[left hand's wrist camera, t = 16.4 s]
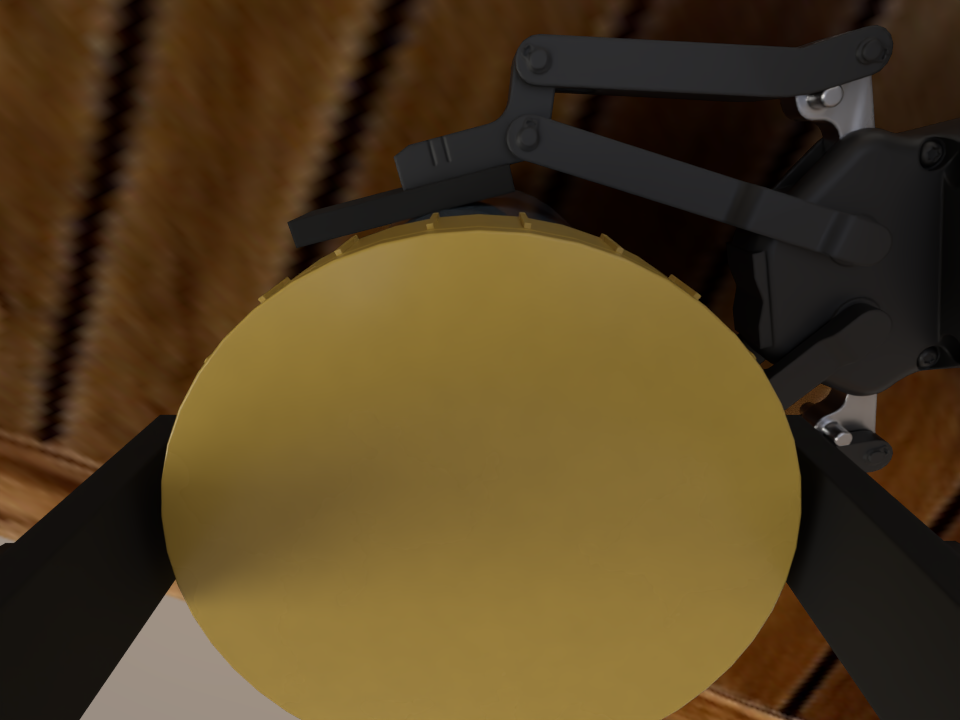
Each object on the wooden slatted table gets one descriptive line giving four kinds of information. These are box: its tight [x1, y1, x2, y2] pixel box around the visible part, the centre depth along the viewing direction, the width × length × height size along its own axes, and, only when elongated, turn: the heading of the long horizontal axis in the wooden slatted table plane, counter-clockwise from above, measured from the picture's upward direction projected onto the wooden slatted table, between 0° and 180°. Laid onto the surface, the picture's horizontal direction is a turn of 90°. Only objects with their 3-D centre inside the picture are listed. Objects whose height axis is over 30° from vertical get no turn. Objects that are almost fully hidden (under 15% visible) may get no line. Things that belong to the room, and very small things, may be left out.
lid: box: [161, 212, 801, 720], centre depth 11 cm, size 11×11×2 cm
